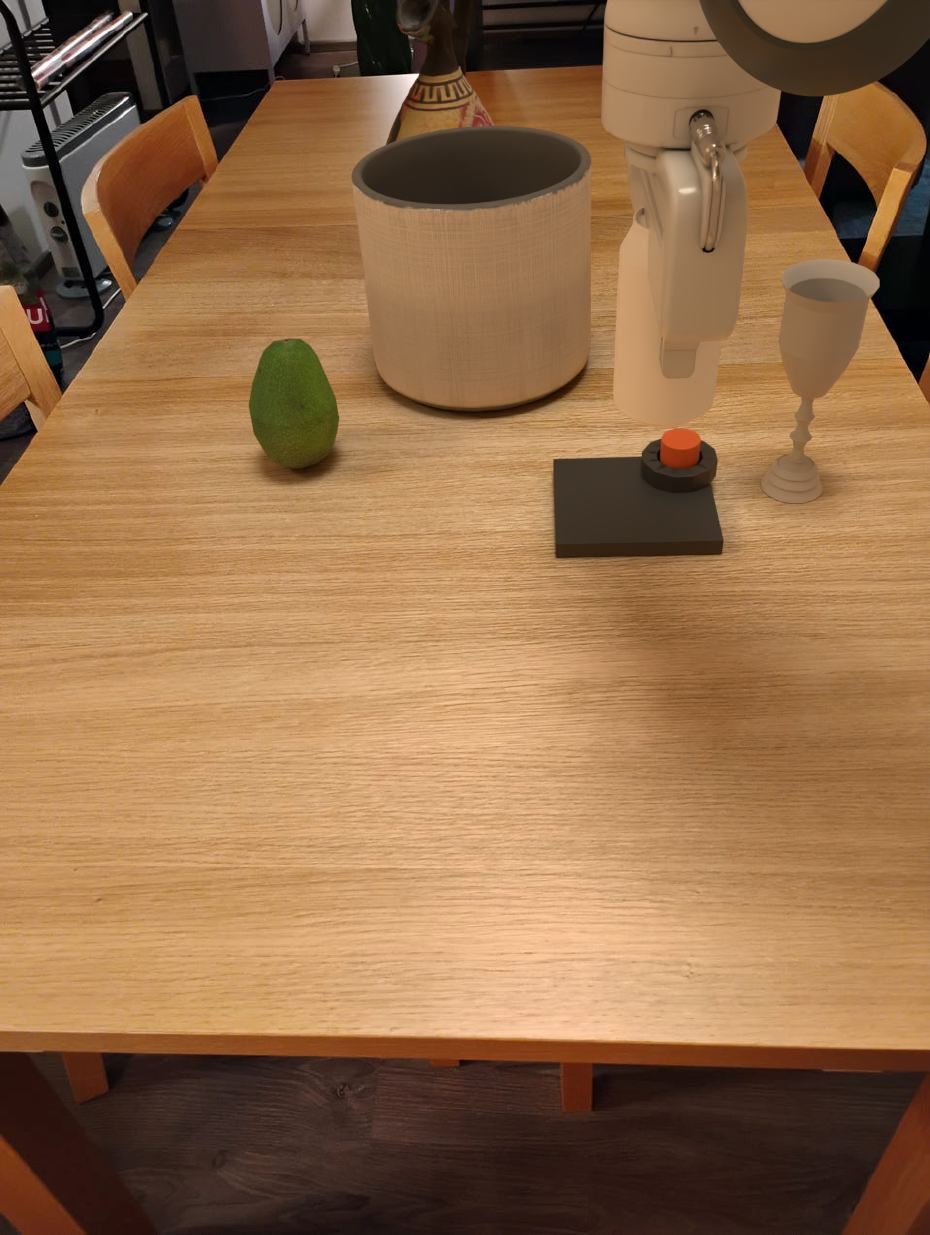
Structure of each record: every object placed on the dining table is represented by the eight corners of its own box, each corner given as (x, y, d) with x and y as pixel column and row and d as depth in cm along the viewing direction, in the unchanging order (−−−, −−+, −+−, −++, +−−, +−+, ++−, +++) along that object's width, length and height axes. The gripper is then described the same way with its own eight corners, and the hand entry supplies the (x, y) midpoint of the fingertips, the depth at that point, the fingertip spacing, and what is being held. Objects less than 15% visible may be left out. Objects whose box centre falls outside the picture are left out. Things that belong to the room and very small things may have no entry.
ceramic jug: (470, 280, 119) (450, -12, 98) (365, 259, 125) (327, -18, 105) (538, 228, 129) (533, -46, 109) (438, 212, 135) (416, -49, 115)
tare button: (696, 448, 84) (698, 427, 83) (700, 469, 82) (703, 448, 81) (658, 449, 85) (659, 428, 83) (661, 470, 82) (663, 449, 81)
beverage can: (592, 403, 63) (598, 213, 55) (669, 375, 65) (686, 187, 57) (653, 447, 59) (669, 249, 51) (734, 415, 61) (761, 219, 53)
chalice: (747, 460, 87) (776, 259, 75) (827, 462, 86) (871, 258, 74) (753, 510, 82) (786, 302, 70) (839, 512, 81) (887, 302, 69)
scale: (708, 464, 87) (711, 434, 85) (729, 554, 78) (733, 523, 76) (553, 468, 88) (553, 439, 86) (555, 557, 79) (555, 527, 77)
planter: (633, 351, 103) (643, 147, 89) (493, 446, 92) (481, 228, 78) (474, 299, 115) (462, 111, 101) (333, 377, 103) (298, 177, 90)
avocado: (363, 457, 92) (344, 336, 84) (295, 495, 88) (268, 373, 80) (310, 428, 96) (287, 310, 88) (243, 463, 92) (213, 343, 84)
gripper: (797, 151, 42) (752, 433, 51) (724, 32, 57) (699, 267, 66) (646, 158, 42) (629, 436, 52) (613, 38, 57) (604, 271, 67)
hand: (668, 340), depth 59 cm, fingers closed on beverage can, 6 cm apart
